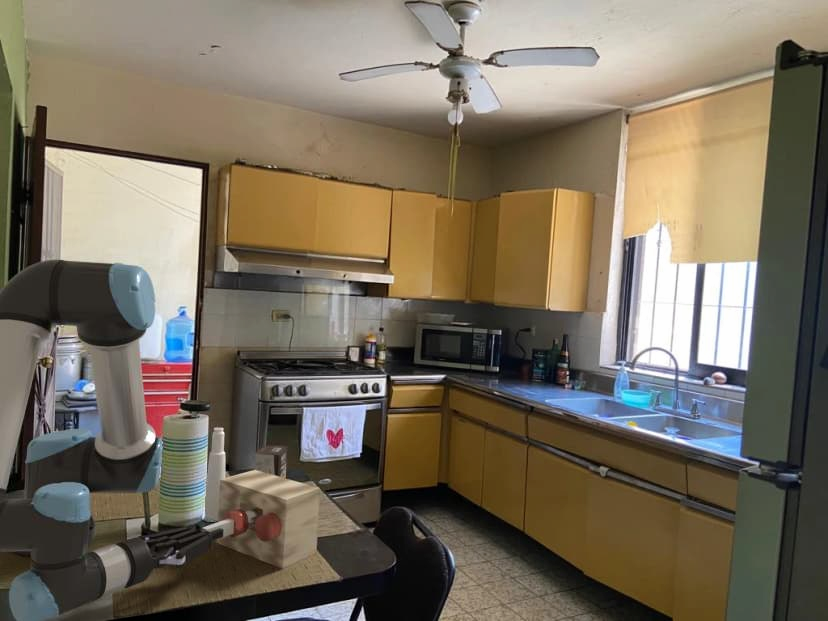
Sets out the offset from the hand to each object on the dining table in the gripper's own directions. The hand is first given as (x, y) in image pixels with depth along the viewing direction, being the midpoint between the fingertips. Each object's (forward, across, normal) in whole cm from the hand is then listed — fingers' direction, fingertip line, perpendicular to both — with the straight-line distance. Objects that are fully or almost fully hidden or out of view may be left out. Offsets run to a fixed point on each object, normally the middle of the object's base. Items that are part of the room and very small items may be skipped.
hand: (231, 525), depth 118 cm
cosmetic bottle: (+14, -23, -8) cm, 28 cm away
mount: (+9, 0, -8) cm, 12 cm away
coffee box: (+25, -16, -8) cm, 31 cm away
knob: (+7, 0, -2) cm, 7 cm away
